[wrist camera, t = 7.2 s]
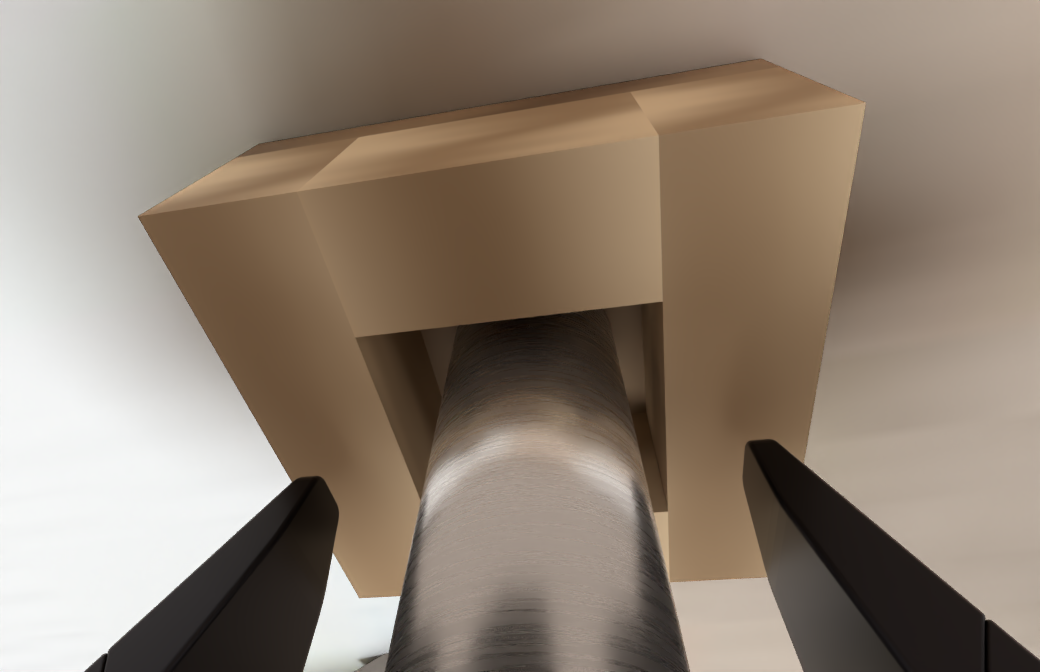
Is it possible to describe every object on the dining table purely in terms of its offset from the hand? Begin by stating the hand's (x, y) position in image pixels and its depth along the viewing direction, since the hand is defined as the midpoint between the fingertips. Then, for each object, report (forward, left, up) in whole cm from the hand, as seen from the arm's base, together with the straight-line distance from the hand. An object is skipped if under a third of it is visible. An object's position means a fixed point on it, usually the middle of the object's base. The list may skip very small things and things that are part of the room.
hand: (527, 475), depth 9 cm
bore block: (0, 0, -5) cm, 5 cm away
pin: (0, 0, -4) cm, 4 cm away
